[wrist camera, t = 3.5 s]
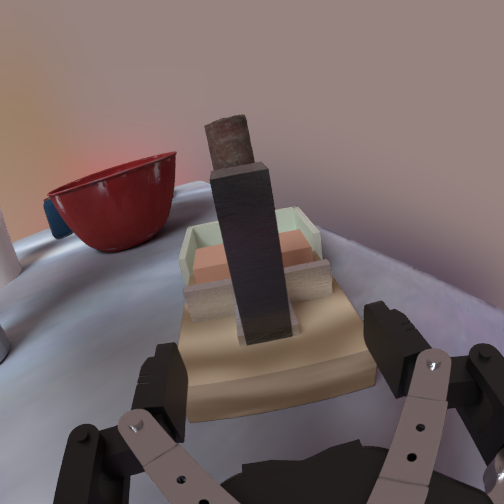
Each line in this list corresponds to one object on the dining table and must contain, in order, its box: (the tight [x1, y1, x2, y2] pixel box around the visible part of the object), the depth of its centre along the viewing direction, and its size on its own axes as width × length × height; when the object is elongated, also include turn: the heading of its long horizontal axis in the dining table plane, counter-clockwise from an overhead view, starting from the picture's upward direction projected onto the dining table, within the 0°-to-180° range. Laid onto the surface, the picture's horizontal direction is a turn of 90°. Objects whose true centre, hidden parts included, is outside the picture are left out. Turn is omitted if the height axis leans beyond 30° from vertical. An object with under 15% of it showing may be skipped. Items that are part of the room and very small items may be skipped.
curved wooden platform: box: [178, 250, 377, 423], centre depth 28 cm, size 17×14×4 cm
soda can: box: [44, 197, 73, 239], centre depth 81 cm, size 7×7×12 cm
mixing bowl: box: [47, 152, 176, 252], centre depth 63 cm, size 28×28×16 cm
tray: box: [178, 206, 323, 286], centre depth 41 cm, size 11×16×6 cm
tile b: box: [279, 229, 313, 268], centre depth 32 cm, size 5×5×3 cm
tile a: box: [193, 244, 231, 284], centre depth 32 cm, size 5×5×3 cm
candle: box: [204, 114, 255, 171], centre depth 55 cm, size 8×7×20 cm
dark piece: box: [183, 162, 333, 347], centre depth 23 cm, size 5×12×12 cm, turn 95°
